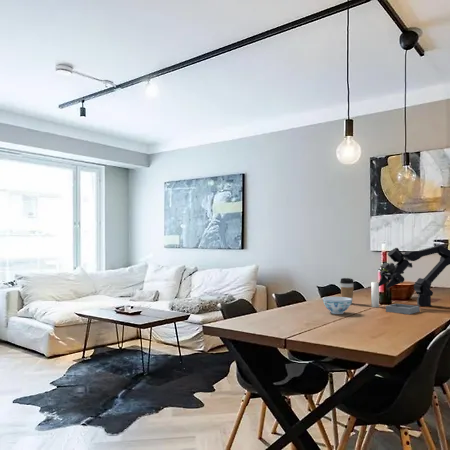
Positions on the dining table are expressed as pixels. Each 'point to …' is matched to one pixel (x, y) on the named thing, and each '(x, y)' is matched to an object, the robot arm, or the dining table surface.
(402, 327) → the dining table surface
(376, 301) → the peg
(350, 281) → the coffee cup
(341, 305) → the chinaware
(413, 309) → the socket tray
